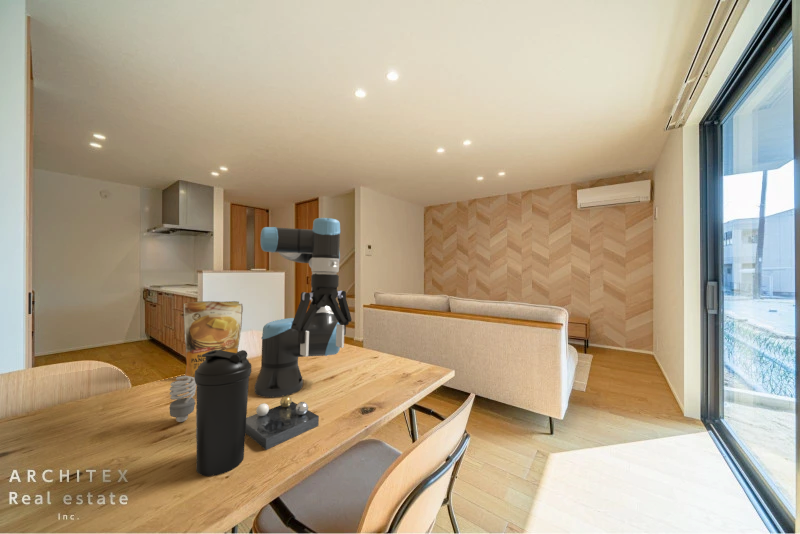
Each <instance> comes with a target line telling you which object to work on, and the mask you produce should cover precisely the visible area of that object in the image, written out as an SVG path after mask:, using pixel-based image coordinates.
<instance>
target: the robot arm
mask: <svg viewBox="0 0 800 534" xmlns="http://www.w3.org/2000/svg"><path fill="white" fill-rule="evenodd" d="M312 222H313V223H312V229H309V228H306V229H305V228H289V227H277V226H271V227H270V226H265V227H263V228H262V229H261V232H260V247H261V250H262V251H263V252H266V253H267V252H268V253H278V254H279V255H280V257H282V258H283V259H285V260H289V261H291V262H295V263H301V264H308V266H309V268H310V269H311V275H310V276H311V277H310V278H311V279H310V280H311V282H310V287H311V292H305V291H302V292H301V294H300V302H299V304H298V307H297V310H296V313H295V315H294V317H289V318H282V319H277V320H272V321H269V322H267V323H266V324H264V326H263V327H262V336H261V361H260V362H261V364H260V365H261V366H260V370H259V373H258V375H257V378H256V380H255V384H254V394H255V395H256V396H258V397H263V398H279V397H280V398H282V397H284V396H289V395H293V394H295V393H298V392H299V391H301V390H302V388H303V381H304V379H303V376H302V373H301V371H300V370H301V369H300V366H299V358H303V357H307V358H308V357H324V356H325V357H327V356H332V355H333V356H335V355H337V354H338V353H339V352H340V349H342V348H344V347H345V345H344V344H345V336H346V332H347V326H348V325H349V324H350V322H351V323H352V316H351V313H350V308H349V305H348V301H347V291H346V290H338V287H339V284H340V283H339V282H340V281H339V280H340V279H339V277H340V275H338V274H337V273H339V271H340V261H341V253H340V252H341V251H340V243H341V241H340V240H341V222H340V221H339V220H338V219H335V218H331V217H329V218H328V217H318V218H315V219H314V220H313V221H312Z"/></svg>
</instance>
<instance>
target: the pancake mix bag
mask: <svg viewBox="0 0 800 534" xmlns="http://www.w3.org/2000/svg"><path fill="white" fill-rule="evenodd" d="M182 305H183V307H182V308H183V309H182V311H183V321H184V322H183V329H184V330H183V332H184V334H183V335H184V342H185V361H186V367H185V375H184V376H190V377H194V378H195V371H196V370H197V369H198V367H199V365H200V364H201V363H202V362H204V361H205V359H206V357H202V355H203V354H205V353H207V352H209V351H212V350H223V351H227V352H233V353H237V352H239V347H240V346H239V345H240V340H241V331H242V323H243V322H242V321H243V311H244V307H243V303H240V301H235V300H233V301H215V300H214V301H212V300H211V301H210V300H208V301H188V302H186V303H183V304H182ZM183 380H188V379H183ZM191 381H193V380H191Z"/></svg>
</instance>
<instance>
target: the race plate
mask: <svg viewBox="0 0 800 534" xmlns="http://www.w3.org/2000/svg"><path fill="white" fill-rule="evenodd" d="M297 404H298V403H296V402H294V401H292V402H291V404H290V406H288V407H282V406H281V404H280V405H278V406H275V407H271V408H269V411H268V413H267V414H266V415H264V416H259V415H258V414H257V413H255V414H253V415H250V416H246V431H245V435H246V436H248V437H249V438H251V440H253V441H254V442H255V443H257V444H258V445H259V446H260V447H261V448H263V449H264V450H265V451H267V450H269V449H272V448H273V447H275V446H278V445H281V444H282V443H284V442H286V441H289V440H291V439H293V438H295V437H297V436H299V435H302V434H304V433H306V432H308V431H310V430H312V429H314V428H316V427H319V426H320V425H319V421H320V420H319V419H320V418H319V415H317V414H316V413H314V412H312V411H310V410H309V409H308V411H307V412H306V413H305V414H304V415H298V414H297V413H296V410H295V409H296V406H297Z"/></svg>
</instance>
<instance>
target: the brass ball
mask: <svg viewBox="0 0 800 534" xmlns="http://www.w3.org/2000/svg"><path fill="white" fill-rule="evenodd" d="M291 402H293V400H292V397H291V396H289V395H286V396H281V398H280V401H279V404H280V405H281V406H282V407H288V406H290V404H291Z"/></svg>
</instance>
